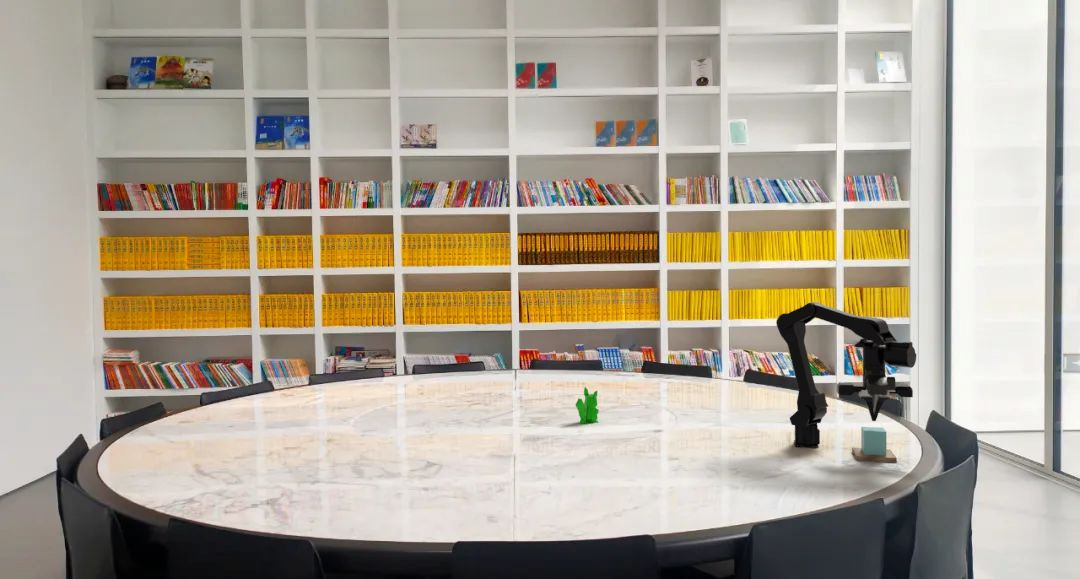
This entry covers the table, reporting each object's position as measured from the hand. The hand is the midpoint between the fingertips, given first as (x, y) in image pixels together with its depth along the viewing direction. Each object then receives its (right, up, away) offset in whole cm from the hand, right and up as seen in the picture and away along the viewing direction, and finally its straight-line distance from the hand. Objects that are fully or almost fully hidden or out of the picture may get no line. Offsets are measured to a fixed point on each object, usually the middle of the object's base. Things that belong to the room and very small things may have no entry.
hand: (873, 420), depth 213 cm
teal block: (0, -9, 0) cm, 9 cm away
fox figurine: (-76, -10, +51) cm, 92 cm away
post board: (0, -10, 0) cm, 10 cm away
